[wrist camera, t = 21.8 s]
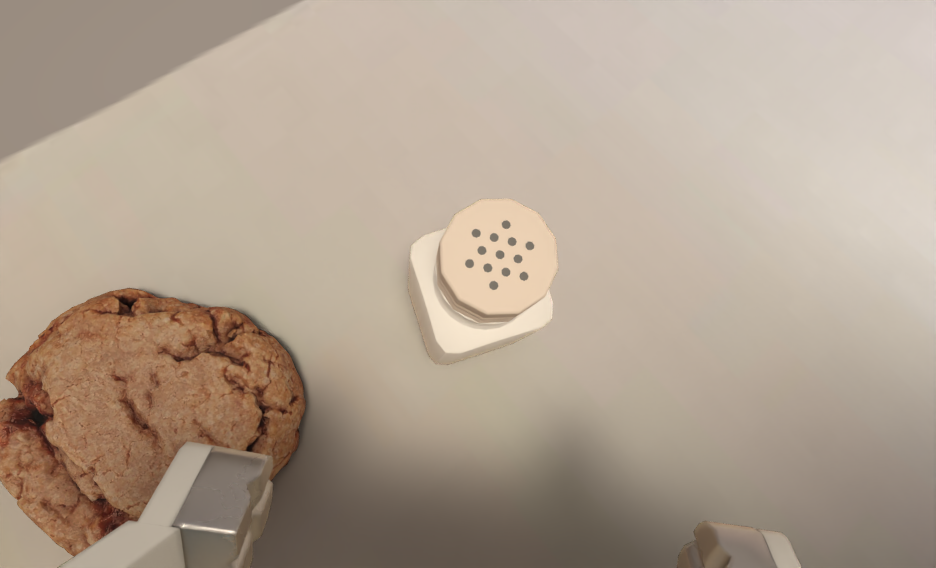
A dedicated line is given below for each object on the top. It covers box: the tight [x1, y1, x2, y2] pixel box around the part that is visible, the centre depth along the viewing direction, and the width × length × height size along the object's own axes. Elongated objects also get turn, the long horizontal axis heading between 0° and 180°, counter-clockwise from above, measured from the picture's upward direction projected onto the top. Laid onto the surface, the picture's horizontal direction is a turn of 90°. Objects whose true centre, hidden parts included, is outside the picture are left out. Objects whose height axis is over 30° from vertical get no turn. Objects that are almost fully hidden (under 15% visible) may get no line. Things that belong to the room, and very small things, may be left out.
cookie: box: [0, 288, 306, 556], centre depth 21 cm, size 10×11×3 cm
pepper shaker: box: [408, 199, 558, 365], centre depth 20 cm, size 4×4×10 cm
